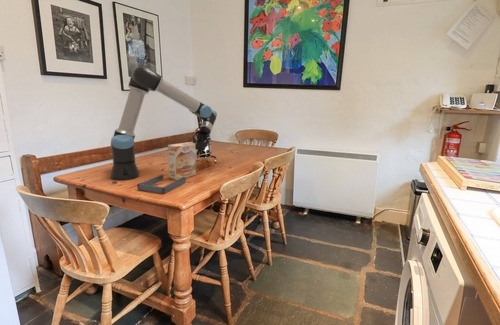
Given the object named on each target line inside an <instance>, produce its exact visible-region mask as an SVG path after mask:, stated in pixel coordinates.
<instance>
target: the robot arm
mask: <svg viewBox="0 0 500 325" xmlns="http://www.w3.org/2000/svg"><path fill="white" fill-rule="evenodd" d="M128 89H129V91H128V95H127V99H126V103H125V106H124V109H123V113H122V116H121V119H120V123H119V125H118V127H117V129H115V130H114V132H113V135H112V137H111V139H110V147H111V152H112V163H113V164H112V168H111V172H110V178H111V179H112V180H117V181H127V180H133V179H136V178H138V177H140V170H139V169H138V166H137V163H136V154H135V137H136V135H135V129H136V125H137V121H138V119H139V116H140V112H141V109H142V105H143V102H144V99H145V96H146V95H147V94H149V91H152V92H158V93H160V94H162V96H163V95H164V96H165V97H167V98H168V99H170V100H172V101H173V102H175V103H178V104H179V105H181V106H182V107H184V108H185V109H188V111H189V112H190V113H191V114H193V115H195V116H196V117H198V118H199V119H201V120H202V122H201V125H200V128H199V130H198V133H197V135H195V136H194V135H193V136H192V143H195V153H196V160H197V158H198V156H200V153H201V152H204V151H205V150H206V148H207V147H208V145H209V143H210V142H212V139H211V137H210V135H211V132H212V129H213V127H214V125H215V122H216V120H217V116H218V113H217V111H216V110H215V109H212V108H211V106H209V105H208V104H207V105H206V104H205V103H203V102H201V101H199V100H198V99H196V98H194V97H193V96H191V95H189V94H188V93H187V92H185V91H183V90H181V89H180V88H178V87H176V86H175V85H173V84H172V83H170V82H168V81H167V80H165V79H164V78H163V76H162V75H160V74H158V73H157V72H156V71H154V70H153V69H152V68H151V67H148V66H146V65H140V66H137V67H135V68H134V69H133V70H131V72H130V79H129V82H128Z"/></svg>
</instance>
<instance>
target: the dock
mask: <svg viewBox="0 0 500 325" xmlns="http://www.w3.org/2000/svg"><path fill="white" fill-rule="evenodd" d="M162 181H164V174H162V173H160V174H159V175H155V176H154V177H152V178H150V179H147V180H144V181H141V182H140V183H137V191H142V192H148V193H154V194H162V195H165V194H167V193H168V192H171V191H172V190H174V189H176V188H178V187H181V186H182V185H184V184H186V177H183V178H181V179H179V180H175V181H173V182H171V183H168V184H167V185H165V186H157V185H154V184H157V183H159V182H162Z"/></svg>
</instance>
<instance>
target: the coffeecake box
mask: <svg viewBox="0 0 500 325" xmlns="http://www.w3.org/2000/svg"><path fill="white" fill-rule="evenodd" d="M167 153H168V156H167V157H168V158H167V160H168V178H169V179H171V180H175V181H177V180H179V179H181V178H183V177H186V178H190V177H194V176H196V174H197V172H196V171H197V167H196V164H197V159H196V153H195V143H193V142H191V141H190V142H189V141H187V142H181V143H173V144H172V143H171V144H168V145H167Z"/></svg>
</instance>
